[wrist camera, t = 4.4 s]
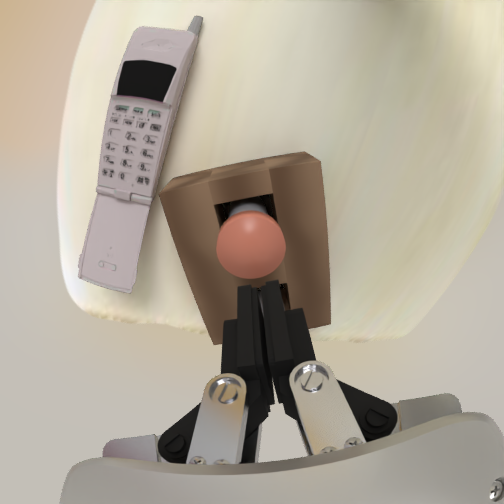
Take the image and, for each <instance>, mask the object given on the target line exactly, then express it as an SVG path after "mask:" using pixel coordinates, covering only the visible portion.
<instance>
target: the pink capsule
mask: <svg viewBox="0 0 504 504" xmlns="http://www.w3.org/2000/svg"><path fill="white" fill-rule="evenodd" d="M285 251H286V243H285V239H284V236H283V233H282V231H281V228H280V226H279V224H278V223H277V222H276V221H275V220H274V219H273V218H272V217H271V216H269V215H268V214H267V210H266V206H265V204H264V202H263V200H262V199H261V198H260V197H259V196H255V197H250V198H245V199H240V200H235V201H232V202H231V204H230V207H229V215H228V219H227V220H226V221H225V222H224V223H223V225H222V226H221V228H220V230H219V233H218V239H217V246H216V252H217V257H218V259H219V261H220V263H221V265H222V266H223V267H224V268H225V269H226V270H227V271H228V272H229V273H231V274H233V275H235V276H237V277H240V278H246V279H255V278H260V277H263V276H266V275H268V274H270V273H271V272H273V271H274V270H275V269H276V268H277V267H278V266H279V265H280V264H281V262H282V260H283V258H284V256H285Z"/></svg>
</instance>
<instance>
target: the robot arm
mask: <svg viewBox="0 0 504 504" xmlns="http://www.w3.org/2000/svg"><path fill="white" fill-rule="evenodd" d="M265 284H266V285H264V286H261V295H262V305H263V312H262V308H261V303H260V299H259V295H258V290H257V287H253V288H252V286H251V284H249V285H243V286H238V287H237V319H231V320H224V324H223V341H222V362H221V374H220V375H218V376H215V377H214V378H212V379H211V380H210V381H209V382H208V383H207V385H206V387H205V389H204V393H203V398H202V402H201V403H199V405H197V406H196V407H195V408H194V409H192V410H191V411H190V412H189V413H188V414H186V415H185V416H184V417H183V418H181V419H180V420H179V421H178V422H176V423H175V424H174V425H173V426H172V427H170V428H169V429H168V430H166V431H165V432H164V433H163V434H162V435H159V436H156V435H155V434H153V435H146V436H139V437H131V438H123V439H114V440H111V441H109V442H108V443H107V444H106V445H105V447H104V449H103V457H100V458H92V459H88V460H85V461H82V462H79V463H77V464H76V465H74V466H73V467H72V468H71V469H70V471H69V473H68V474H67V477H66V480H65V482H64V486H63V489H62V493H61V498H60V504H504V436H503V434H502V432H501V430H500V429H499V427H498V426H497V424H496V423H495V422H494V420H493V419H492V418H491V417H489V416H488V415H486V414H483V413H477V412H465V413H464V412H463V413H462V410H461V405H460V403H459V400H458V399H457V398H456V397H455V396H454V395H452V394H448V393H447V394H446V393H445V394H439V395H433V396H428V397H422V398H416V399H409V400H402V401H399V403H393V404H390V403H388V402H386V401H384V400H381V399H379V398H377V397H374V396H372V395H370V394H367V393H365V392H363V391H361V390H358V389H356V388H354V387H352V386H350V385H347V384H345V383H343V382H341V381H339V380H337V379H336V378H335V375H334V373H333V371H332V370H331V368H330V367H329V366H327V365H326V364H325V363H322V362H319V361H316V358H315V354H314V350H313V346H312V342H311V338H310V334H309V330H308V326H307V322H306V318H305V315H304V311H303V308H297V309H292V310H286V311H284V306H283V301H282V296H281V291H280V285H279V280H272V281H266V282H265ZM263 315H264V317H263ZM272 379H273V382H274V386H275V390H276V394H277V398H278V402H279V403H283V406H284V410H285V413H286V414H287V415H288V416H290V417H292V418H293V419H295V420H296V423H297V426H298V429H299V432H300V435H301V438H302V441H303V444H304V447H305V449H306V452H307V455H308V456H307V457H301V458H294V459H288V460H280V461H271V462H262V463H258V457H259V449H260V440H261V431H262V422H263V421H264V420H265V419H266V418H267V417H268V412H270V405H272V404H275V400H274V391H273V382H272Z"/></svg>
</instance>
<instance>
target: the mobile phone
mask: <svg viewBox="0 0 504 504" xmlns="http://www.w3.org/2000/svg"><path fill="white" fill-rule="evenodd" d="M202 21H203V17H201V16H194V18H193V20H192V22H191V24H190V26H189V28H188V30H187V31H183V30H175V29H167V28H157V27H144V26H142V27H139V28H137V29H136V30H135V31H134V32H133V35H132V37H131V39H130V41H129V43H128V46H127V48H126V51H125V53H124V56H123V58H122V61H121V64H120V67H119V69H118V73H117V76H116V79H115V82H114V86H113V89H112V93H111V99H110V103H109V107H108V112H107V116H106V121H105V127H104V133H103V139H102V147H101V154H100V163H99V173H98V186H97V188H96V192H97V193H98V194H97V197H96V200H95V204H94V207H93V211H92V214H91V218H90V222H89V225H88V229H87V233H86V238H85V242H84V246H83V251H82V254H80V258H79V264H78V268H79V273H78V277H79V278H80V279H83V280H85V281H87V282H90V283H92V284H95V285H98V286H101V287H104V288H107V289H111V290H116V291H120V292H125V293H131V292H132V287H133V284H135V280H136V275H137V270H136V268H137V263H138V258H139V253H140V248H141V244H142V239H143V234H144V230H145V226H146V221H147V217H148V213H149V209H150V205H151V202H153V200H154V198H155V194H156V189H157V184H158V180H159V178H160V174H161V170H162V166H163V162H164V158H165V155H166V151H167V147H168V143H169V140H170V136H171V132H172V128H173V125H174V121H175V118H176V114H177V111H178V107H179V104H180V100H181V96H182V93H183V89H184V86H185V82H186V79H187V75H188V72H189V69H190V66H191V63H192V60H193V55H194V52H195V49H196V46H197V43H198V40H197V38H198V36H199V35H198V34H199V31H200V27H201V24H202Z"/></svg>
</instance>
